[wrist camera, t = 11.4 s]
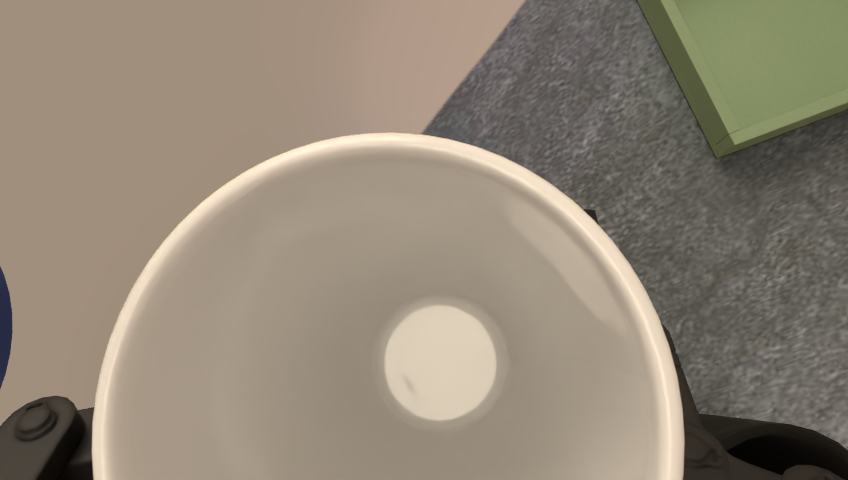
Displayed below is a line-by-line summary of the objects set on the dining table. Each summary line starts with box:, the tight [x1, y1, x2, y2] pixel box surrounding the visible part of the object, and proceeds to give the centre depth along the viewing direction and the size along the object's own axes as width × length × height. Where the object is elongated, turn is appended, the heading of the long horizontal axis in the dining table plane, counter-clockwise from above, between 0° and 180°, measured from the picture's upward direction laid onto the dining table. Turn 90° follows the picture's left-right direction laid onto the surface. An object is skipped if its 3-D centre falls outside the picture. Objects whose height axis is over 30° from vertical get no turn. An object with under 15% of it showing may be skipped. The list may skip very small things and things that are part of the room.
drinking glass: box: [92, 133, 685, 480], centre depth 13 cm, size 7×7×15 cm
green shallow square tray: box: [637, 0, 848, 158], centre depth 36 cm, size 14×14×3 cm
